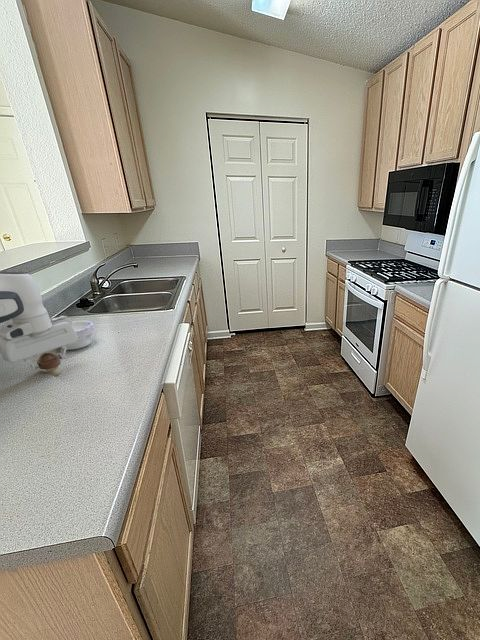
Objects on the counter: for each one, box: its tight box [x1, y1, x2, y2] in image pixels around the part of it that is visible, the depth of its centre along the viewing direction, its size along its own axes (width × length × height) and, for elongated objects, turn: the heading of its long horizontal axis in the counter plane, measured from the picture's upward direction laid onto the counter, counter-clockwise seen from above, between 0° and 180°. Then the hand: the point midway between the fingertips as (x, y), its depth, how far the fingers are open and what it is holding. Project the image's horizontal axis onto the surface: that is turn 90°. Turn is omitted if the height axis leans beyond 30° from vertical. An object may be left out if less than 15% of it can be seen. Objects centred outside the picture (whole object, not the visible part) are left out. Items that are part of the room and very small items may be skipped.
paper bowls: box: [66, 320, 97, 351], centre depth 130 cm, size 15×15×8 cm
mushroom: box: [35, 352, 62, 377], centre depth 108 cm, size 6×6×8 cm
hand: (49, 363), depth 108 cm, fingers open, 7 cm apart
